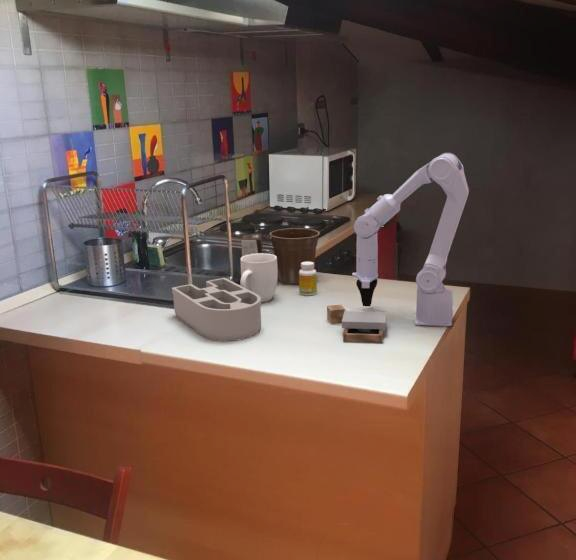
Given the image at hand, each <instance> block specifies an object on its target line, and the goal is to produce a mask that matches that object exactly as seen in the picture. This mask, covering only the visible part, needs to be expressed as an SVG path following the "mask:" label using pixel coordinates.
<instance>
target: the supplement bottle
mask: <svg viewBox="0 0 576 560" xmlns="http://www.w3.org/2000/svg"><path fill="white" fill-rule="evenodd" d="M301 268H302V269H301V270H300V271H299V288H298V289H299V291H298V293H299V294H300V295H301V296H314V295H316V294H317V291H318V290H317V288H318V287H317V285H318V284H317V280H318V279H317V270H316V269H315V266H314V263H313V262H302V263H301ZM313 268H314V269H313Z"/></svg>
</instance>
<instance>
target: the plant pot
mask: <svg viewBox="0 0 576 560" xmlns="http://www.w3.org/2000/svg"><path fill="white" fill-rule="evenodd" d="M320 233H321V232H320V231H319V230H316V229H312V228H305V227H303V228H302V227H291V228H290V227H288V228H281V229H276V230H271V232H269V236H270V237H271V244H272V245H271V246H272V247H273V255H275V256H276V257H277V266H278V267H277V269H278V278H277V283H278V282H279V283H282V284H283V285H289V286H290V285H291V286H297V285H299V271H300V270H301V269H302V268H301V263H302V262H313V263H314V268H313V269H315V263H316V255H317V254H316V253H317V246H318V244H319V243H318V241H319V236H320Z"/></svg>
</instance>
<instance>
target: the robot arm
mask: <svg viewBox="0 0 576 560" xmlns="http://www.w3.org/2000/svg"><path fill="white" fill-rule="evenodd" d="M464 169H465V168H464V165H463V164H462V162H461V161H460V159H459V158H458V156H456V154H454V153H451V152H444V153H441V154H440V155H438V156H437V157H435V158H433V159H432V160H431V161H429V162H428V163H427V164H425V165H424V166H422V167H421V168H418V170H416V171H415V172H414V173H413V174H412V175H410V177H409V178H408V179H407V180H406V181H405V182H404V183H403V184H402V185H400V186H399V188H398V189H396V190H395V191H394V192H393V194H391V193H386V194H384V195H379V196H378V197H377V198H376V200H377V201H376V202H375V203H374V204H372V205H371V207H369V208H368V207H367V208H366V209H365V210H364V214H362V215H361V216H358V217H357V219H356V220H355V221H354V223H353V230H354V232H355V235H356V246H355V247H356V248H355V249H356V254H355V255H356V259H355V260H356V272H352V275H351V276H352V278H356V279H357V280H356V283H355V284H356V287H357V289H358V291H359V294H360V300H361V304H362V306H363V307H371V306H372V302H373V301H372V300H373V296H374V292H375V289H376V287H377V285H378V277H379V273H378V272H379V271H378V270H379V269H378V262H379V261H378V260H379V258H378V256H379V255H378V254H379V253H378V252H379V251H378V250H379V249H378V248H379V247H378V245H379V243H378V231H379V230H380V229H381V227H383V226H384V225H385V224H386V223H387V222H389V221H390V220H391V219H392V218H393V217H395V215H396V214H397V213H399V212H400V211H401V204H402V202H403V201H405V200H406V199H407V198H408V197H409V196H411V195H412V194H413V193H414V192H416V190H417V189H418V188H420V187H421V186H423V185H425V184H431V183H434V182H435V183H436V184H437V185H439V186H440V187H441V188H442V190H443V192H444V193H445V195H446V200H445V204H444V206H443V209H442V212H441V216H440V219H439V222H438V225H437V228H436V231H435V234H434V237H433V240H432V243H431V246H430V250H429V253H428V255H427V257H426V260H425V262H424V264H423V267H422V269H421V270H420V271H418V273H417V275H416V278H415V283H416V310H415V311H416V312H415V313H414V314H413V315H414V325H415V326H431V327H432V326H434V327H451V326H453V316H454V310H453V305H454V304H453V303H454V302H453V301H454V299H453V297H454V294H453V293H454V292H453V289H448V288H447V289H446V287H445V285H444V283H443V282H444V280H445V278H446V275H447V269H446V268H447V267H446V265H447V261H448V256H449V252H450V251H451V247H452V244H453V240H454V238H455V236H456V232H457V229H458V226H459V222H460V220H461V217H462V214H463V212H464V208H465V205H466V203H467V199H468V197H469V192H470V189H469V186H468V182H467V178H466V175H465V170H464Z"/></svg>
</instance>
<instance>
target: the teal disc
mask: <svg viewBox="0 0 576 560" xmlns="http://www.w3.org/2000/svg"><path fill="white" fill-rule="evenodd" d="M371 330H372V329H358V332H362V333H369V332H371Z"/></svg>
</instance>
